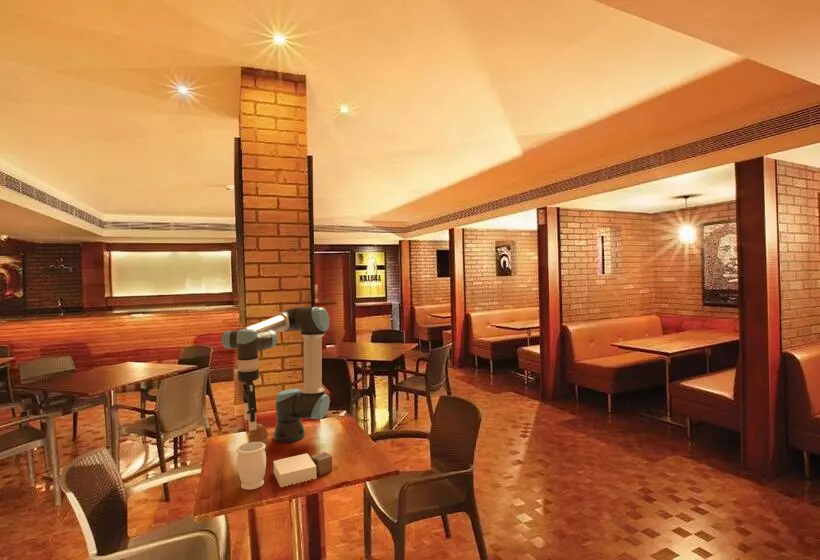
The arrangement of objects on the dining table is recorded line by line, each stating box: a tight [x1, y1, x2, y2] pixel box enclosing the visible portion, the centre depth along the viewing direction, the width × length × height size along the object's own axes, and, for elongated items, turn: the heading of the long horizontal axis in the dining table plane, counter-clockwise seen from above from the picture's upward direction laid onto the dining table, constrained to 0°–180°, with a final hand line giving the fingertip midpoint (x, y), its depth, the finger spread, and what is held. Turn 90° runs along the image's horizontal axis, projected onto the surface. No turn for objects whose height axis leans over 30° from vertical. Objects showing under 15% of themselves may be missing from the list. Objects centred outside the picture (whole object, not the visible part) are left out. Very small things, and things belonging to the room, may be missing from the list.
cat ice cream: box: [247, 420, 269, 455], centre depth 186 cm, size 9×8×18 cm
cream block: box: [273, 452, 318, 488], centre depth 174 cm, size 14×14×5 cm
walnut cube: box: [311, 451, 333, 476], centre depth 178 cm, size 6×6×6 cm
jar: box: [236, 442, 267, 491], centre depth 167 cm, size 11×10×15 cm
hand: (250, 424), depth 167 cm, fingers open, 13 cm apart
